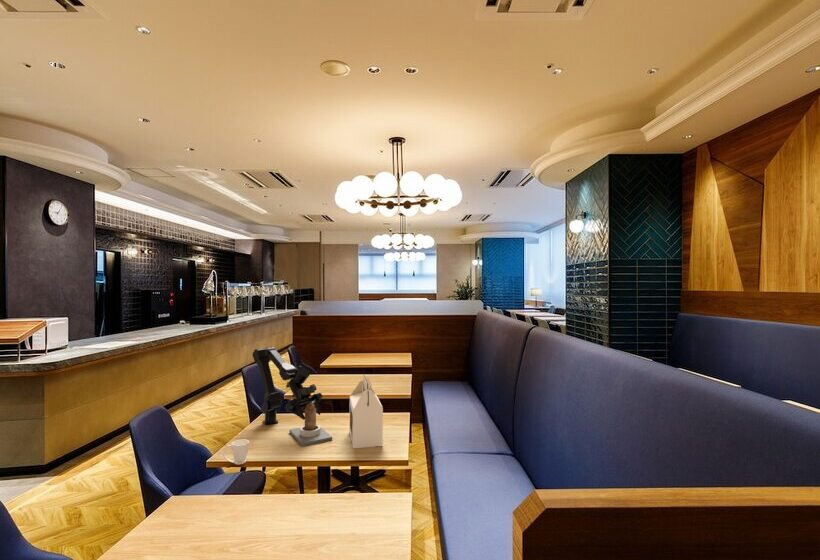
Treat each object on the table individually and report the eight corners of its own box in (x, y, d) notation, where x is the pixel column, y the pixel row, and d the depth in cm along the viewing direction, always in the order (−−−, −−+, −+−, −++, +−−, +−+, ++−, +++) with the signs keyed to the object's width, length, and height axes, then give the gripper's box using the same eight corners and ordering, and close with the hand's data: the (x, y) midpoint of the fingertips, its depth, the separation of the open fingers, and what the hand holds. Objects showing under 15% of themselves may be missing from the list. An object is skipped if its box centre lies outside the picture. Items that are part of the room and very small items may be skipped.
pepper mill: (302, 434, 197) (302, 403, 197) (308, 430, 201) (309, 400, 201) (311, 435, 195) (311, 405, 195) (317, 432, 199) (318, 402, 199)
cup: (246, 465, 166) (246, 445, 166) (220, 466, 165) (220, 446, 165) (251, 458, 173) (251, 438, 173) (226, 459, 172) (226, 439, 172)
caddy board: (289, 432, 203) (289, 424, 203) (317, 427, 210) (317, 419, 210) (302, 446, 186) (302, 437, 186) (332, 440, 193) (332, 431, 193)
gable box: (382, 446, 186) (383, 383, 186) (353, 448, 183) (353, 385, 184) (376, 429, 208) (376, 373, 208) (349, 431, 205) (349, 374, 205)
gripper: (289, 383, 193) (304, 411, 186) (320, 376, 208) (335, 402, 201) (278, 397, 198) (293, 425, 191) (310, 389, 213) (324, 415, 206)
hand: (312, 416), depth 197 cm, fingers open, 9 cm apart
